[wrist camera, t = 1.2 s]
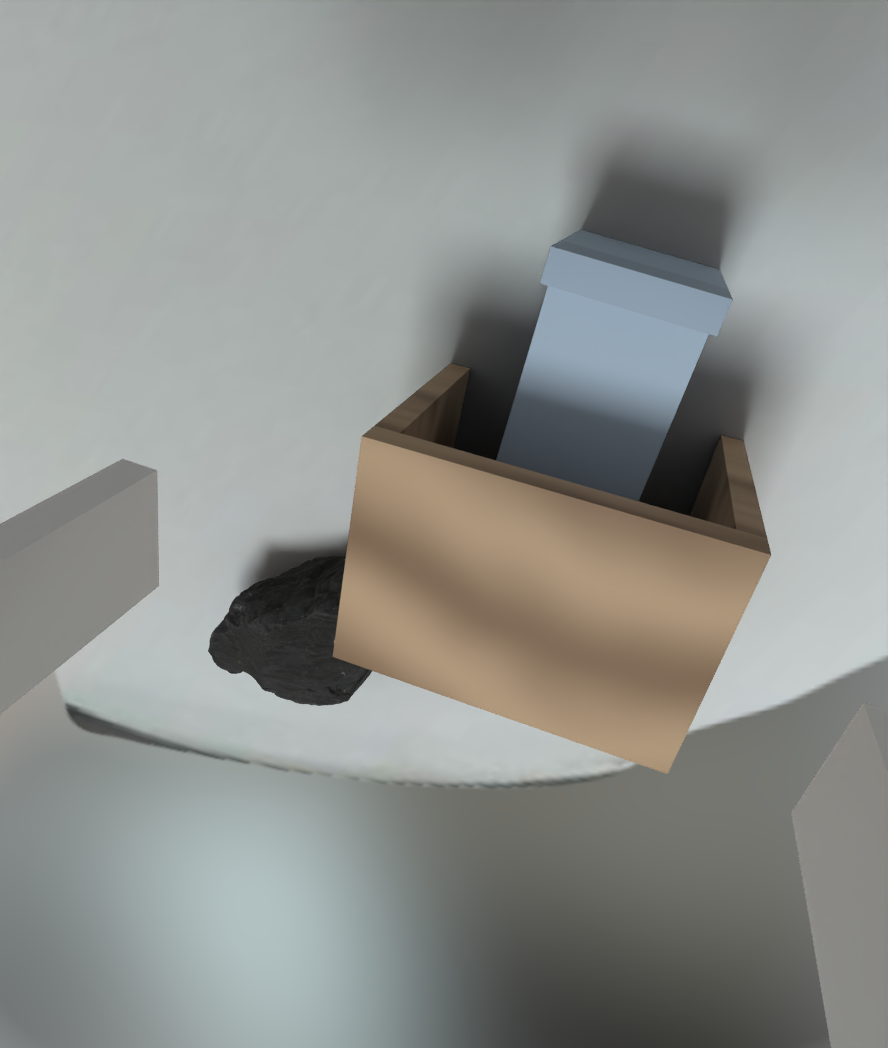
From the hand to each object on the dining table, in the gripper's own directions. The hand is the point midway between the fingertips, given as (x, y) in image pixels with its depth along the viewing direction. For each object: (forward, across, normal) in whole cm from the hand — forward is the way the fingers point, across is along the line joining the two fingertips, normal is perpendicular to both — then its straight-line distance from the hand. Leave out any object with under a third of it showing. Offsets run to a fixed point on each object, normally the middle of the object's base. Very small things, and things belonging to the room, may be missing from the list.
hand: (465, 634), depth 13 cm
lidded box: (+23, +1, -2) cm, 23 cm away
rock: (+23, -10, -19) cm, 31 cm away
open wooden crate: (+22, +1, -7) cm, 24 cm away
